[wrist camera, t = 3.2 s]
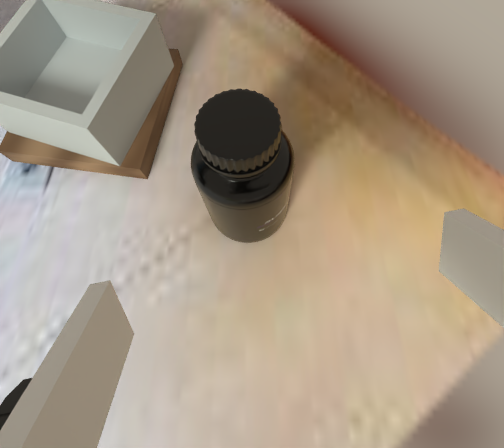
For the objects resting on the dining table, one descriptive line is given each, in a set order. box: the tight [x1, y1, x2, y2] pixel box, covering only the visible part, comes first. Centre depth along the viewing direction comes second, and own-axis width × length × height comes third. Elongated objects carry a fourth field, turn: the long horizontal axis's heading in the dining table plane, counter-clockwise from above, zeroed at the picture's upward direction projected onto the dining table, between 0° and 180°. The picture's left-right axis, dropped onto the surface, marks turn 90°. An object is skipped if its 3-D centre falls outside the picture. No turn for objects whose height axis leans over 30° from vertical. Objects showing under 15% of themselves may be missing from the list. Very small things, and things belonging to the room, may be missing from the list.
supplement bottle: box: [191, 89, 294, 243], centre depth 23 cm, size 7×7×12 cm
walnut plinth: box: [0, 49, 182, 179], centre depth 32 cm, size 14×14×2 cm
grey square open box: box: [0, 0, 174, 166], centre depth 28 cm, size 12×12×6 cm
